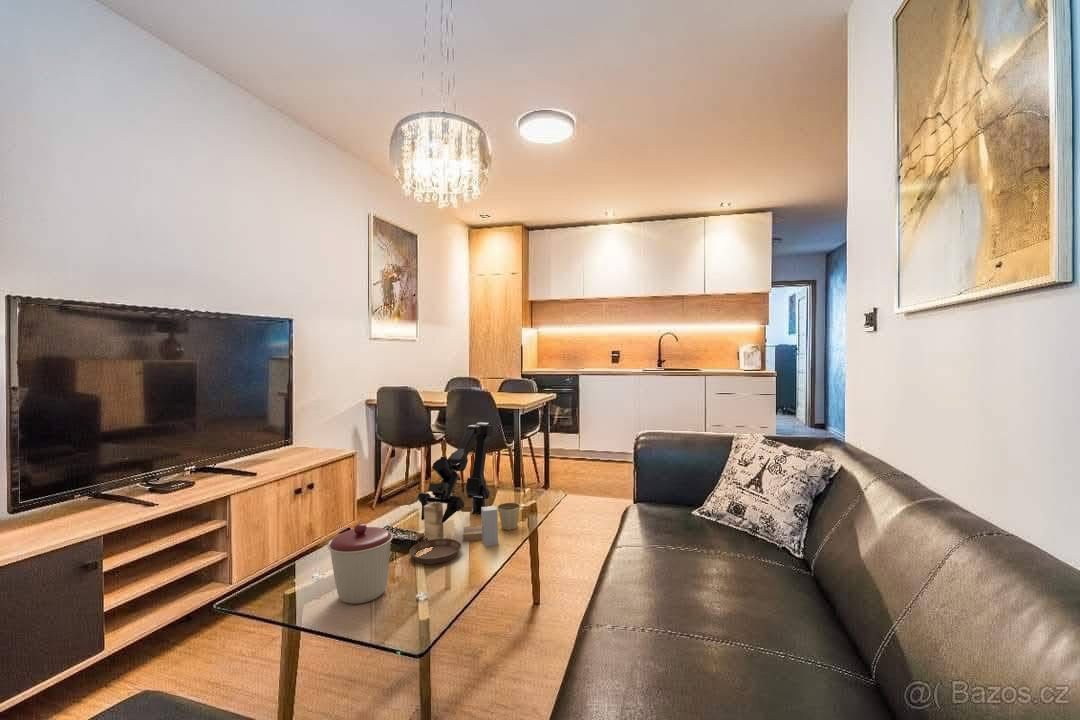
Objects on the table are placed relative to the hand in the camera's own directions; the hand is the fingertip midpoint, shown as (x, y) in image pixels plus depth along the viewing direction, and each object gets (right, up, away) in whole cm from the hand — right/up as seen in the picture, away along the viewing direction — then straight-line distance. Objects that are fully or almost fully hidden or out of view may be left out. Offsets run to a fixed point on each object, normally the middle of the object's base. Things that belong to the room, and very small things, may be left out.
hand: (432, 521), depth 186 cm
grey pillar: (+23, -6, -5) cm, 24 cm away
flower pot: (+29, -6, +11) cm, 31 cm away
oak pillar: (+1, -7, +1) cm, 7 cm away
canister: (-11, -8, -42) cm, 44 cm away
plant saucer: (+5, -8, -15) cm, 17 cm away
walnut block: (+16, -7, +2) cm, 17 cm away
